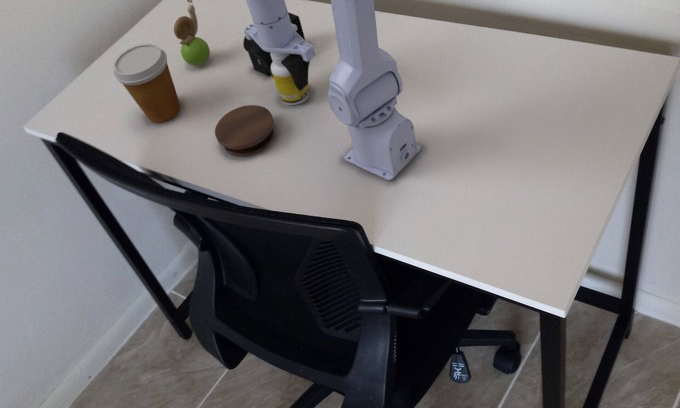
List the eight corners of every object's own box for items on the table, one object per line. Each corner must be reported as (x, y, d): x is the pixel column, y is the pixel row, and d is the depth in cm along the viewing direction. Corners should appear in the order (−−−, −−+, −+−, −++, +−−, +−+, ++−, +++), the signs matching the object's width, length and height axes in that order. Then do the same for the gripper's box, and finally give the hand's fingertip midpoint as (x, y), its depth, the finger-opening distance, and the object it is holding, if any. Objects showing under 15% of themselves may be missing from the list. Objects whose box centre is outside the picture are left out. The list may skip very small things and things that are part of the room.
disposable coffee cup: (199, 105, 123) (174, 51, 115) (159, 136, 120) (130, 83, 111) (168, 88, 129) (143, 36, 120) (129, 118, 125) (100, 66, 116)
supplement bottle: (306, 106, 117) (292, 60, 110) (277, 106, 119) (261, 62, 111) (313, 86, 120) (300, 40, 113) (284, 86, 122) (270, 42, 115)
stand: (289, 129, 114) (284, 116, 112) (248, 167, 110) (242, 154, 108) (249, 111, 119) (244, 98, 117) (208, 146, 115) (202, 133, 113)
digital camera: (288, 38, 132) (279, 7, 127) (307, 46, 129) (299, 15, 124) (250, 68, 128) (238, 37, 123) (268, 77, 125) (258, 46, 120)
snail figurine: (221, 53, 133) (200, 0, 124) (201, 73, 130) (178, 20, 121) (201, 49, 135) (179, -4, 127) (181, 68, 132) (157, 16, 124)
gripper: (319, 11, 105) (336, 80, 115) (256, -9, 113) (277, 57, 123) (289, 36, 102) (309, 104, 112) (226, 13, 110) (250, 79, 120)
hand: (291, 81), depth 117 cm, fingers closed on supplement bottle, 5 cm apart
